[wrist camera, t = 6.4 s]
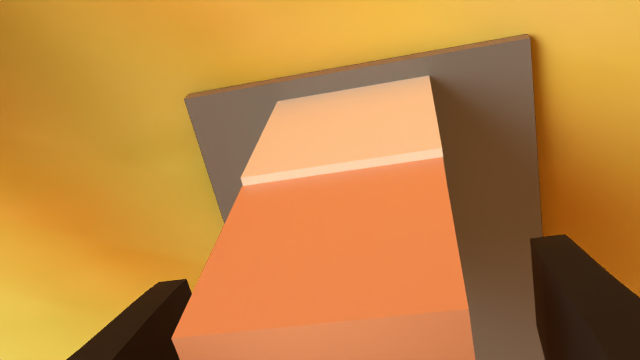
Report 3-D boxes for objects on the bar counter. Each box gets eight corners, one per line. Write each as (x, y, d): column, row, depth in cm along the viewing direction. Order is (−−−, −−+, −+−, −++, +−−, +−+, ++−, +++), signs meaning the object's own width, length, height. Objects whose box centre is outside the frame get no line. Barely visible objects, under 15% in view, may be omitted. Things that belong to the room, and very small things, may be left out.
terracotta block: (469, 356, 14) (501, 555, 10) (297, 370, 15) (261, 562, 11) (442, 156, 12) (469, 309, 8) (242, 185, 12) (170, 338, 8)
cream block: (451, 240, 18) (469, 350, 14) (317, 256, 18) (296, 364, 14) (428, 75, 16) (442, 148, 12) (277, 101, 16) (240, 177, 12)
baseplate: (552, 431, 21) (555, 441, 21) (300, 446, 23) (299, 456, 23) (526, 34, 15) (530, 38, 15) (188, 93, 17) (183, 99, 17)
